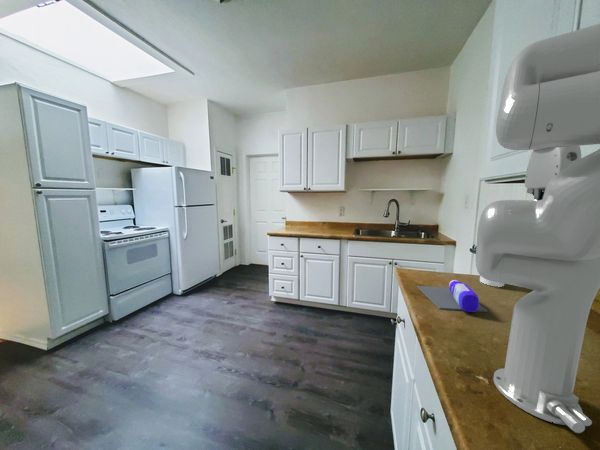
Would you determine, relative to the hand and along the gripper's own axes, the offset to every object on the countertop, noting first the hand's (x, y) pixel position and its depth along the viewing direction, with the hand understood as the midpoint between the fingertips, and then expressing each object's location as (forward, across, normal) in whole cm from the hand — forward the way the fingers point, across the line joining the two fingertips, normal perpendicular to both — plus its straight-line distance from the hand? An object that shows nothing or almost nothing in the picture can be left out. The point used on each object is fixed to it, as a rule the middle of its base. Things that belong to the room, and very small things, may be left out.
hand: (543, 216), depth 61 cm
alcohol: (+35, +44, -21) cm, 60 cm away
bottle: (+31, +13, +7) cm, 34 cm away
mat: (+35, +26, +7) cm, 44 cm away
